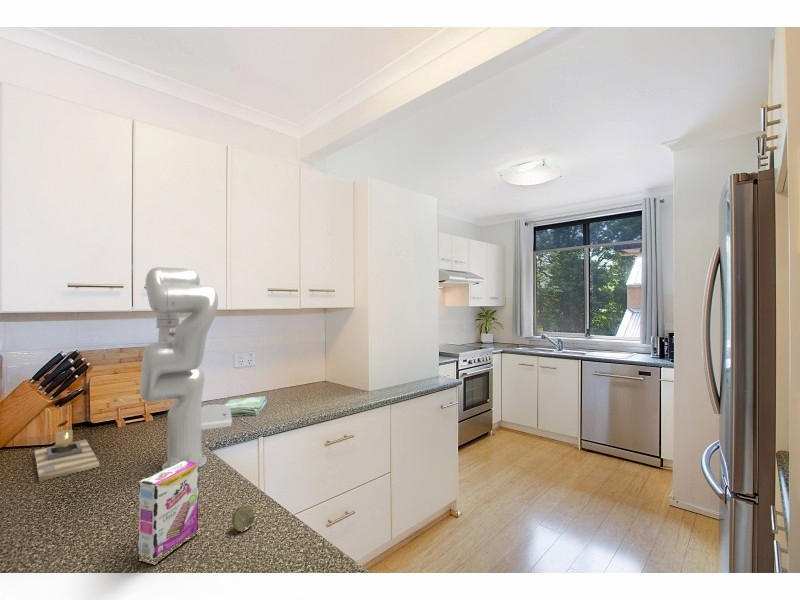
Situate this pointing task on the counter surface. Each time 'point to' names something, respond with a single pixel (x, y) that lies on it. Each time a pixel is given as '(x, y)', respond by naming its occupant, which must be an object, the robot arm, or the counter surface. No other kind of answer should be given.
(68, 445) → the hinge barrel
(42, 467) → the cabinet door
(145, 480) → the candy bar box
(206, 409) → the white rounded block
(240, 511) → the lime
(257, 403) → the towel
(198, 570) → the counter surface
